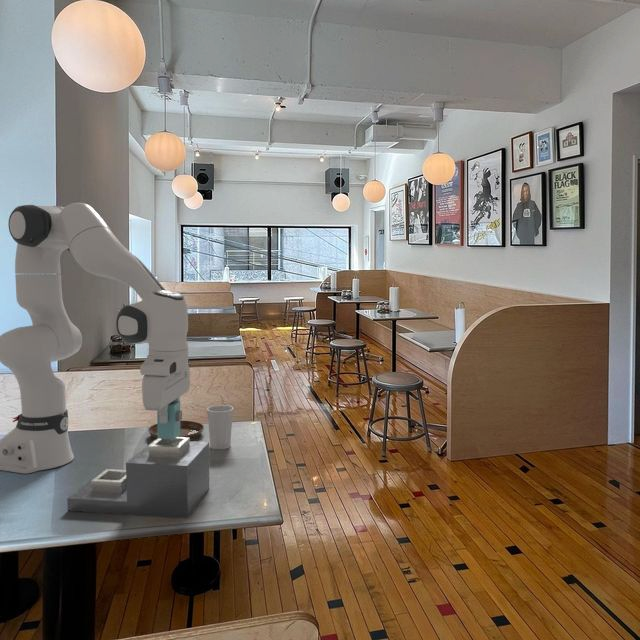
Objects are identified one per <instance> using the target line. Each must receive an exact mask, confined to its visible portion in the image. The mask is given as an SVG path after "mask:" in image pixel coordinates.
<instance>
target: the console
mask: <svg viewBox="0 0 640 640" xmlns="http://www.w3.org/2000/svg"><path fill="white" fill-rule="evenodd" d="M209 490H210V441H192V440H190V437H176V438H175V439H157V440H156V439H154V440H152V441H151V442H150V443H149V444H148V445H146V446H145V447H144V448H142V450H140V451H139V452H137V453H136V454H135V455H134V456H133V457H131V458H130V459H129V460H128V461H126V462H125V469H115V468H114V469H111V468H110V469H109V468H106V469H105V470H103V471H101V472H99V474H97V475H96V476H94V478H92V479H91V480H89V481H88V482H87V483H85V484H84V485H83V486H82V487H80V488H79V489H78V490H76V491H75V492H74V493H72V494H71V495H69V496H68V497H67V498H66V499H67V500H66V501H67V511H68V510H72V511H71V512H75V511H82V512H81V513H91V512H94V513H97V514H111V515H124V516H125V515H128V516H144V517H161V518H178V519H179V518H180V519H188V518H189V517H190V516H191V515H192V513H193V512H194V510H195V509H196V508H197V506H198V505H199V504H200V502H201V500H202V499H203V498H204V496H206V494H207V492H208V491H209ZM94 513H93V514H94Z"/></svg>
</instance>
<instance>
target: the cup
mask: <svg viewBox="0 0 640 640" xmlns="http://www.w3.org/2000/svg"><path fill="white" fill-rule="evenodd" d="M206 413H207V420H208V432H209V433H208V434H209V449H211V448H213V449H212V450H215V449H223V450H227V449H229V448H231V442H232V440H231V439H232V426H233V415H234V407H233V406H231V405H225V404H222V405H219V404H217V405H212V406H209V407H207V409H206ZM226 448H227V449H226Z"/></svg>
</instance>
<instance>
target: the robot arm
mask: <svg viewBox="0 0 640 640" xmlns="http://www.w3.org/2000/svg"><path fill="white" fill-rule="evenodd" d="M7 224H8V230H9V234H10V236H11V237H12V239H13V241H14V242H15V243H17V244H16V251H15V260H14V261H15V262H14V270H15V271H14V273H15V274H14V275H15V276H14V277H15V292H16V293H15V295H16V301H17V304H18V306H20V308H22V309H24V310H26V312H27V313H28V315H29V316H30V319H31V323H32V325H26V326H18V327H16V328H14V329H10V330H9V331H6V332H4V333H1V335H0V363H1V364H2V365H3V366H5V368H8V369H9V370H10V371H11V372H12V373H13V376H14V377H15V379H16V380H17V384H18V387H19V392H20V393H19V395H20V404H21V413H20V414H18V415H17V416H15V417H12V423H15V422H17V423H16V425H15V427H14V428H13V429H12V430H11V431H9V432H7V434H5V435H4V436H3V437H1V438H0V471H5V472H12V473H18V474H31V473H35V472H38V471H43V470H49V469H54V468H58V467H62V466H65V465H66V464H68V463H70V462H72V461H73V459H74V458H75V455H74V453H73V450H72V446H71V443H70V438H69V432H68V431H69V430H68V429H69V412H68V409H67V402H66V401H67V400H66V397H67V395H66V384H65V382H64V381H63V380H62V379H60V378H59V377H56V375H55V373H54V370H53V369H52V363H54V362H58V361H61V360H66V359H67V358H69V357H72V356H74V355H75V354H76V353H78V352H79V351H80V350H81V347H82V346H83V335H82V332H81V331H80V329H79V328H78V326H76V325H75V324H73V322H72V321H71V320H70V318H69V315H68V313H67V311H66V308H65V305H64V300H63V291H62V290H63V287H62V274H61V273H62V272H61V256H62V253H63V252H64V251H65V250H67V251H68V252H69V253H70V254H71V256H72V257H73V258H74V260H75V262H76V263H77V264H78V265H79V266H80V267H81V268H82V270H84V271H85V272H87V273H88V274H91V275H94V276H96V277H101V278H107V279H110V280H115V281H117V282H120V283H122V284H125V285H127V286H129V287H130V288H131V289H133V290H134V291H135V293H136V294H137V296H139V297H140V299H141V300H140V301H137V302H135V303H131V304H128V305H127V304H126V305H125V306H123V307H122V308H121V309H120V310H119V311H118V313H117V316H116V322H115V323H116V325H115V326H116V331H117V334H118V336H119V337H120V338H121V340H123V342H126V343H127V344H133V345H141V344H147V345H148V354H147V355H146V359H144V361H143V363H142V364H141V365H140V369H139V370H140V371H139V372H140V375H142V376H143V377H142V381H141V382H142V383H141V386H142V387H141V390H142V404H143V407H144V409H145V410H146V411H154V412H155V411H156V412H157V411H158V414H159V422H160V423H167V422H168V421H169V414H168V412H167V409H168V404H170V403H171V402H173V401H180V402H181V397H182V396H183V395H184V394H186V393H187V392H189V391H190V387H191V376H190V375H191V374H190V366H189V346H188V342H187V336H188V332H189V323H190V322H189V320H190V319H189V312H188V310H189V309H188V305H187V301H186V298H185V296H184V295H183V294H182V293H180V292H177V291H173V290H166V289H165V287H163V285H162V284H161V283H160V281H159V280H158V279H157V277H155V276H154V274H153V273H152V271H151V270H150V269H149V268H148V267H147V266H146V265H145V264H144V262H142V260H140V259H139V258H138V257H137V256H136V255H135V254H133V253H132V252H130V250H128V249H127V248H126V247H125V246H124V245H123V243H121V242H120V240H119V239H118V238H117V237H116V235H115V234H114V233H113V231H112V230H111V228H110V226H109V225H108V224H107V223H106V221H105V220H104V219H103V218H102V216H101V215H100V214H99V213H98V212H97V210H95V209H94V208H93V207H92V206H91V205H89V204H87V203H84V202H72V203H70V204H68V205H66V206H60V205H34V204H24V205H19V206H18V205H17V206H16V207H15V208H14V209H13V210H12V211H11V213H10V215H9V218H8V223H7Z"/></svg>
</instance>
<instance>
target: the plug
mask: <svg viewBox="0 0 640 640" xmlns="http://www.w3.org/2000/svg"><path fill="white" fill-rule="evenodd" d="M167 412H168V414H169V421H168V422H167V423H160V422H159V414H158V411H156V415H157V420H156V421H157V423H156V424H157V438H158V439H175V438H176V437H177V436H179V435H180V421H182V420H183V410H181V400H180V401H173V402H171V403H170V404H168V409H167Z"/></svg>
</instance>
